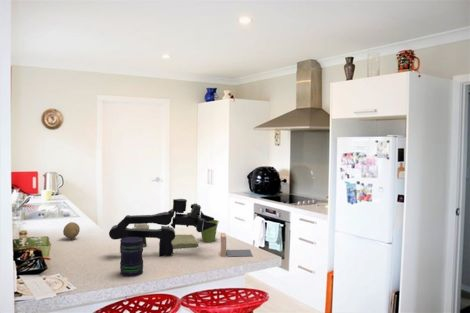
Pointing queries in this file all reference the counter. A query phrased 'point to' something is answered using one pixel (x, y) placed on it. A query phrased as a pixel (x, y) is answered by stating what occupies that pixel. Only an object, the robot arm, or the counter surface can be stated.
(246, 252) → the mat
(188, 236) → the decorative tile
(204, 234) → the plant pot
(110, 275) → the counter surface
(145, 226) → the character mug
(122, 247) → the storage jar
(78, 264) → the counter surface
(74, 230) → the natural sponge
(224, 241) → the tile
